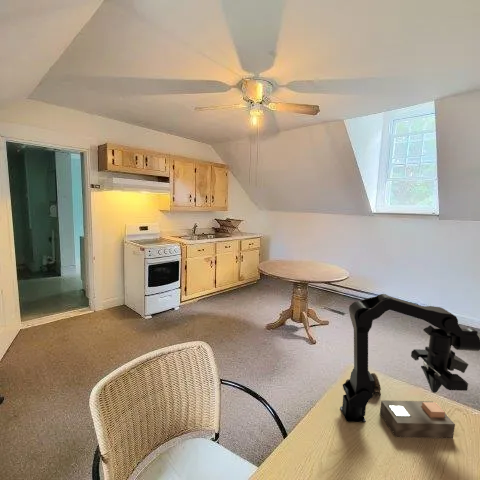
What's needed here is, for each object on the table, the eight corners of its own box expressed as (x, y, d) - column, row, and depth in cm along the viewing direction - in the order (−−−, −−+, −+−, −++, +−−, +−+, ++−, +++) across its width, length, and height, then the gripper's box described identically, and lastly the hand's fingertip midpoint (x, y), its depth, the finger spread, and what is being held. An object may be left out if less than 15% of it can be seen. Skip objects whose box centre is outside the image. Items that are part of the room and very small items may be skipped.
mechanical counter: (383, 391, 101) (385, 372, 109) (346, 376, 107) (350, 359, 115) (379, 405, 104) (381, 385, 112) (343, 390, 110) (348, 372, 118)
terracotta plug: (429, 425, 90) (431, 411, 89) (420, 415, 94) (422, 402, 94) (443, 425, 90) (445, 412, 89) (433, 415, 94) (435, 402, 94)
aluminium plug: (395, 429, 90) (396, 415, 90) (387, 418, 95) (389, 405, 94) (408, 429, 90) (410, 416, 90) (400, 419, 95) (402, 406, 94)
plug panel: (395, 437, 87) (397, 422, 87) (379, 413, 97) (381, 400, 97) (453, 438, 88) (455, 424, 87) (431, 414, 97) (433, 401, 97)
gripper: (490, 365, 81) (482, 413, 83) (443, 334, 99) (438, 375, 101) (451, 364, 81) (444, 412, 83) (412, 333, 99) (407, 374, 101)
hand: (433, 392), depth 92 cm, fingers closed
